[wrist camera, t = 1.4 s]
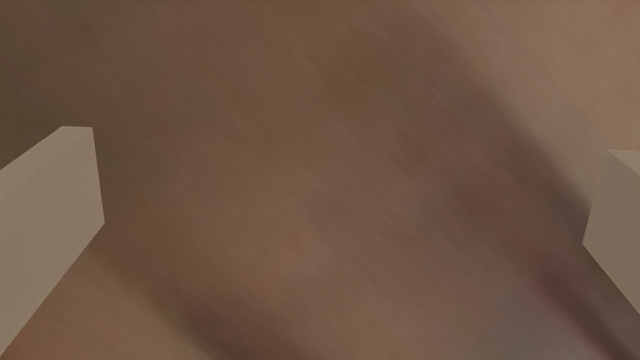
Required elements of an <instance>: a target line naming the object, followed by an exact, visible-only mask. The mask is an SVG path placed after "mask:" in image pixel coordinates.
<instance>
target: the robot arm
mask: <svg viewBox="0 0 640 360" xmlns="http://www.w3.org/2000/svg"><path fill="white" fill-rule="evenodd" d="M104 223H105V222H104V215H103V207H102V199H101V192H100V184H99V176H98V168H97V161H96V153H95V145H94V137H93V130H92V127H72V126H62V127H60V128H59V129H57V130H56V131H55V132H53V133H52V134H50V135H49V136H48V137H46V138H45V139H43V140H42V141H41V142H39V143H38V144H36V145H35V146H34V147H32V148H31V149H29V150H28V151H27V152H25V153H24V154H22V155H21V156H19V157H18V158H17V159H15V160H14V161H12V162H11V163H10V164H8V165H7V166H5V167H4V168H3V169H1V170H0V356H1V354H2V353H3V352H4V351H5V349H6V348H7V347H8V345H9V344H10V343H11V342H12V340H13V339H14V338H15V337H16V335H17V334H18V333H19V331H20V330H21V329H22V328H23V326H24V325H25V324H26V323H27V321H28V320H29V319H30V317H31V316H32V315H33V314H34V312H35V311H36V310H37V309H38V307H39V306H40V305H41V303H42V302H43V301H44V300H45V298H46V297H47V296H48V294H49V293H50V292H51V291H52V289H53V288H54V287H55V286H56V284H57V283H58V282H59V280H60V279H61V278H62V277H63V275H64V274H65V273H66V272H67V270H68V269H69V268H70V266H71V265H72V264H73V263H74V261H75V260H76V259H77V258H78V256H79V255H80V254H81V252H82V251H83V250H84V249H85V247H86V246H87V245H88V244H89V242H90V241H91V240H92V238H93V237H94V236H95V235H96V233H97V232H98V231H99V230H100V228H101V227H102V226H103V224H104ZM582 244H583V245H584V246H585V248H586V249H587V250H588V251H589V253H590V254H591V255H592V256H593V257H594V259H595V260H596V261H597V262H598V264H599V265H600V266H601V267H602V269H603V270H604V271H605V272H606V273H607V275H608V276H609V277H610V278H611V280H612V281H613V282H614V283H615V285H616V286H617V287H618V288H619V289H620V291H621V292H622V293H623V294H624V296H625V297H626V298H627V299H628V301H629V302H630V303H631V304H632V305H633V307H634V308H635V309H636V310H637V312H638V313H639V314H640V153H639V152H638V151H628V150H607V151H606V155H605V159H604V162H603V166H602V170H601V174H600V178H599V182H598V185H597V189H596V193H595V197H594V201H593V205H592V209H591V212H590V216H589V220H588V224H587V228H586V232H585V235H584V239H583V243H582Z"/></svg>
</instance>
